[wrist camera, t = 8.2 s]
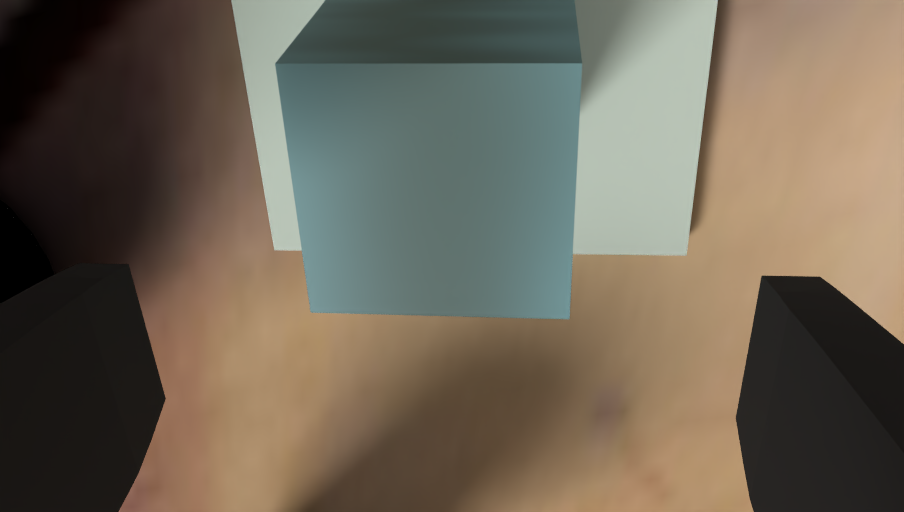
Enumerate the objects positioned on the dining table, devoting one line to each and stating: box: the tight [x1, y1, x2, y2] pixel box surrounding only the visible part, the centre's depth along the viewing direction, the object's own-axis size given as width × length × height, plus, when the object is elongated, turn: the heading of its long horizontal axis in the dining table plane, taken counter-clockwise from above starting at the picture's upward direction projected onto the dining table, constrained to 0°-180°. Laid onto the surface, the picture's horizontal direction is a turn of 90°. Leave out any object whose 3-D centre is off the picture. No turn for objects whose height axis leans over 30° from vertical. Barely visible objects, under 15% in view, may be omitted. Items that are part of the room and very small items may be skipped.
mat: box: [231, 0, 718, 256], centre depth 18 cm, size 10×10×1 cm
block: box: [275, 0, 582, 319], centre depth 15 cm, size 4×4×7 cm
